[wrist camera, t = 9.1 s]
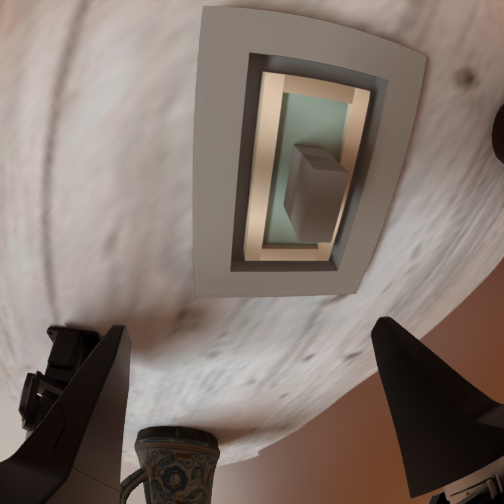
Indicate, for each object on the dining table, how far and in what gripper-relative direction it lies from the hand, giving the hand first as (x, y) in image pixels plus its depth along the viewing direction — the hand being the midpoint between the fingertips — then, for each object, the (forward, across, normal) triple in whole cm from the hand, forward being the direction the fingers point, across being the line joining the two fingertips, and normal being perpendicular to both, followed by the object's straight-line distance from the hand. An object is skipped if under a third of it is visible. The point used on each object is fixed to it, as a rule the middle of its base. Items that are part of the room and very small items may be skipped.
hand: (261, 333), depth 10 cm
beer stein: (+13, +10, +50) cm, 53 cm away
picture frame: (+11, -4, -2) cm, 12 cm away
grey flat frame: (+12, -4, -2) cm, 12 cm away
